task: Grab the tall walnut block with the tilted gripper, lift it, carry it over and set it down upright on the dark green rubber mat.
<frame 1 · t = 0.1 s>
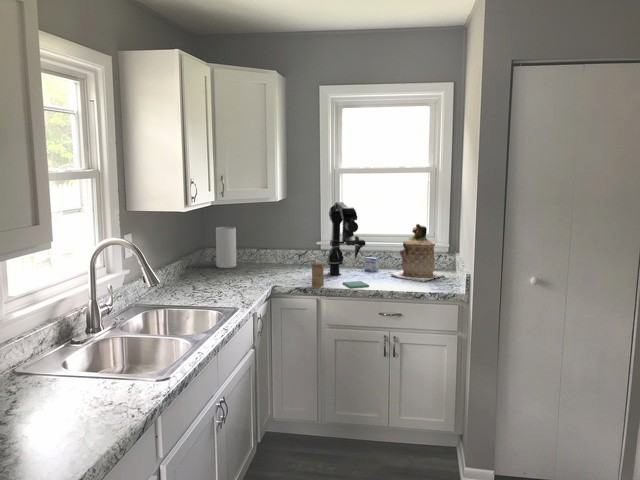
hand: (347, 258, 300), 15 cm above the worktop, tool pointing down, fingers open, 9 cm apart
walnut block: (317, 286, 298), on the worktop
green mat: (355, 285, 301), on the worktop
medicine box: (371, 271, 340), on the worktop
cylinder vase: (226, 266, 351), on the worktop
cookie jar: (417, 277, 326), on the worktop
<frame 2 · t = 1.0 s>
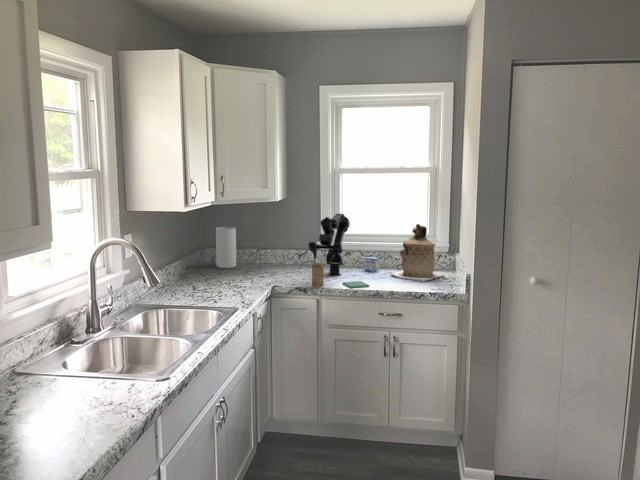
hand: (322, 259, 304), 13 cm above the worktop, tool tilted 45°, fingers open, 9 cm apart
nothing on the worktop moved.
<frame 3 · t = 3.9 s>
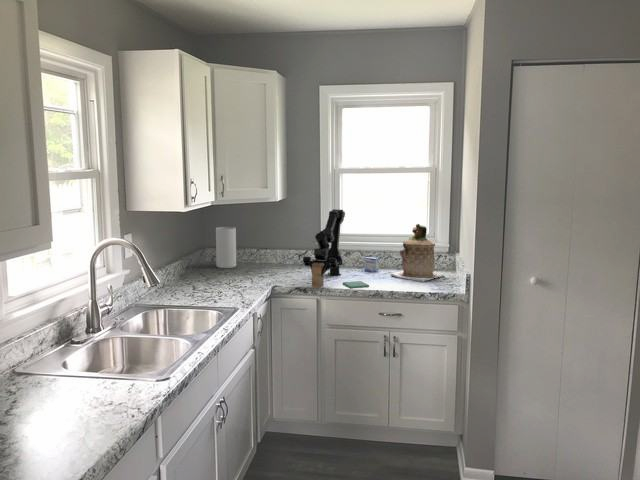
hand: (316, 274, 296), 7 cm above the worktop, tool tilted 45°, fingers closed on walnut block, 5 cm apart
walnut block: (317, 286, 298), on the worktop, touching gripper
everything else where it was.
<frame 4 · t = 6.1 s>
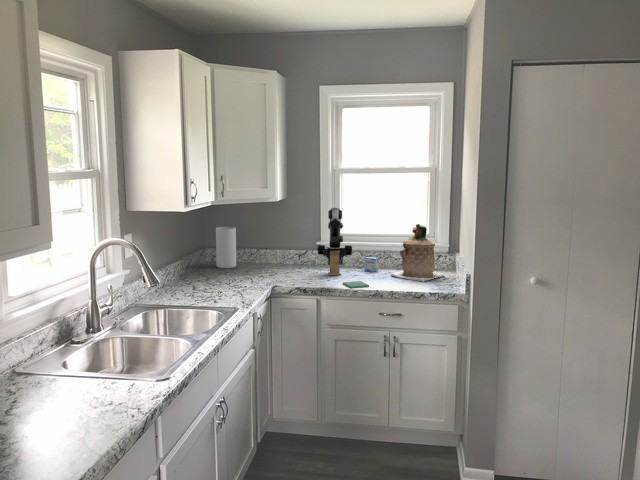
hand: (334, 262, 294), 13 cm above the worktop, tool tilted 45°, fingers closed on walnut block, 5 cm apart
walnut block: (334, 274, 297), point 7 cm above the worktop, touching gripper
everything else where it was.
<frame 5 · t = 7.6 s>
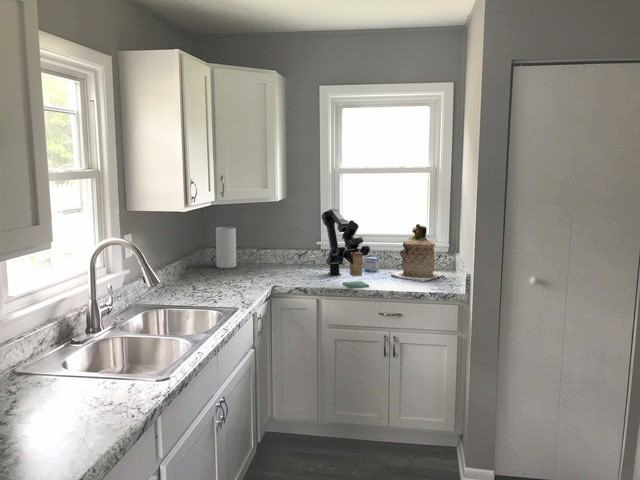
hand: (357, 263, 298), 12 cm above the worktop, tool tilted 45°, fingers closed on walnut block, 5 cm apart
walnut block: (355, 275, 300), point 6 cm above the worktop, touching gripper
everything else where it was.
when the fingers open (9 cm above the worktop, at t = 8.6 s): walnut block drops 1 cm, resting on green mat.
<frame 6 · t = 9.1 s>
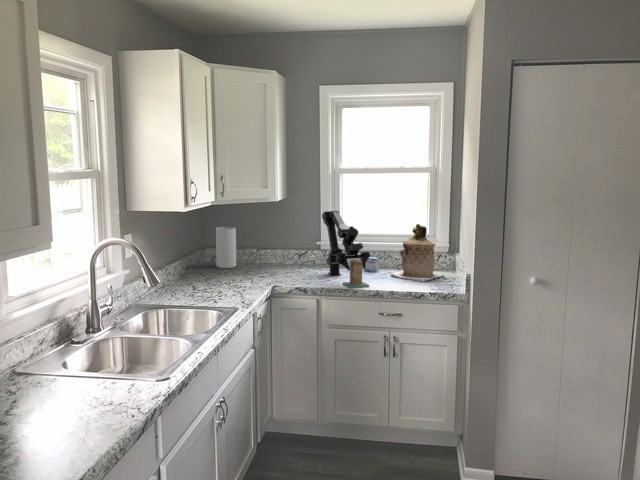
hand: (357, 269, 298), 9 cm above the worktop, tool tilted 45°, fingers open, 9 cm apart
walnut block: (355, 283, 301), point 1 cm above the worktop, touching green mat
everything else where it was.
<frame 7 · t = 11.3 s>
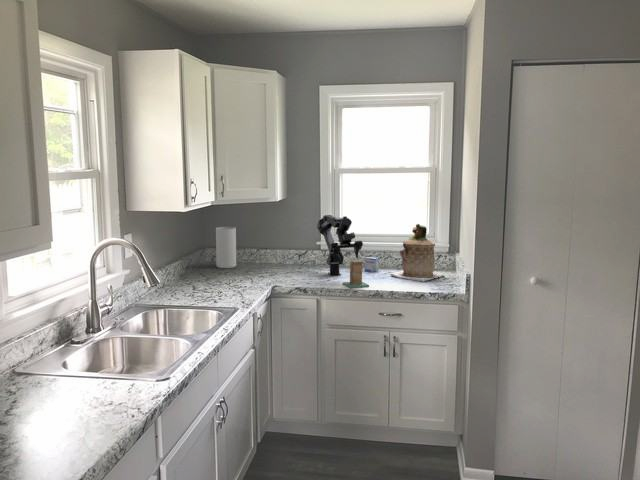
hand: (349, 258, 306), 13 cm above the worktop, tool tilted 45°, fingers open, 9 cm apart
nothing on the worktop moved.
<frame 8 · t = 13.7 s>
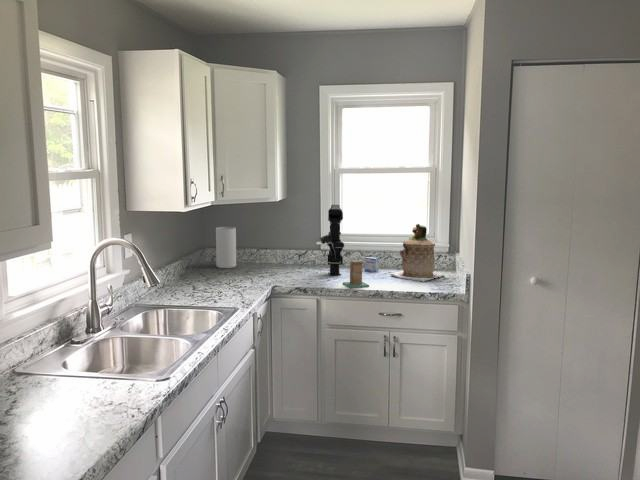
hand: (334, 257, 313), 13 cm above the worktop, tool pointing down, fingers open, 9 cm apart
nothing on the worktop moved.
at the end: walnut block inside the target area on the green mat (0.0 cm from its centre), point 1.0 cm above the green mat's base; walnut block tilted 0°; the gripper is holding nothing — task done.
